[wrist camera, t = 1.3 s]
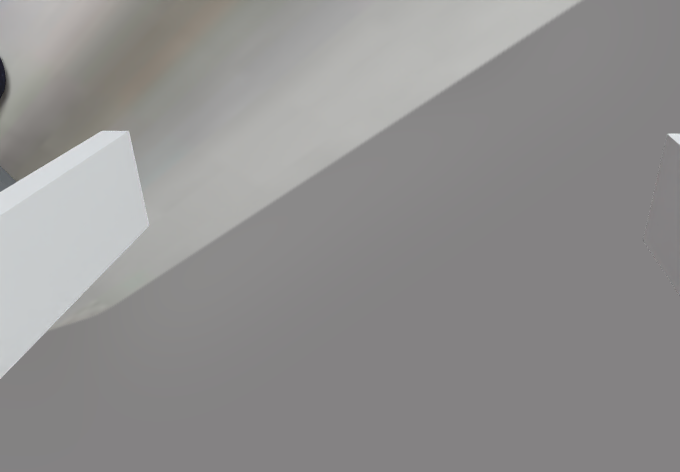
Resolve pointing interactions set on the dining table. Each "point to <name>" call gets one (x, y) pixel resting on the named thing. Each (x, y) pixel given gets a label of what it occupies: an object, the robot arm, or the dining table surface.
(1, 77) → the beverage can
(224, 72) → the dining table surface
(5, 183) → the ring seat
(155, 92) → the dining table surface
